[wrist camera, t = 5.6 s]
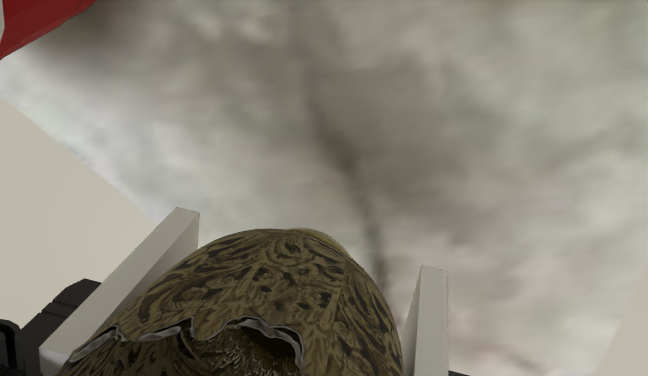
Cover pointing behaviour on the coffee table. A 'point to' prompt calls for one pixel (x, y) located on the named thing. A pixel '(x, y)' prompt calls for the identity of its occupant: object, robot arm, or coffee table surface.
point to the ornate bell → (251, 315)
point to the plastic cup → (33, 20)
